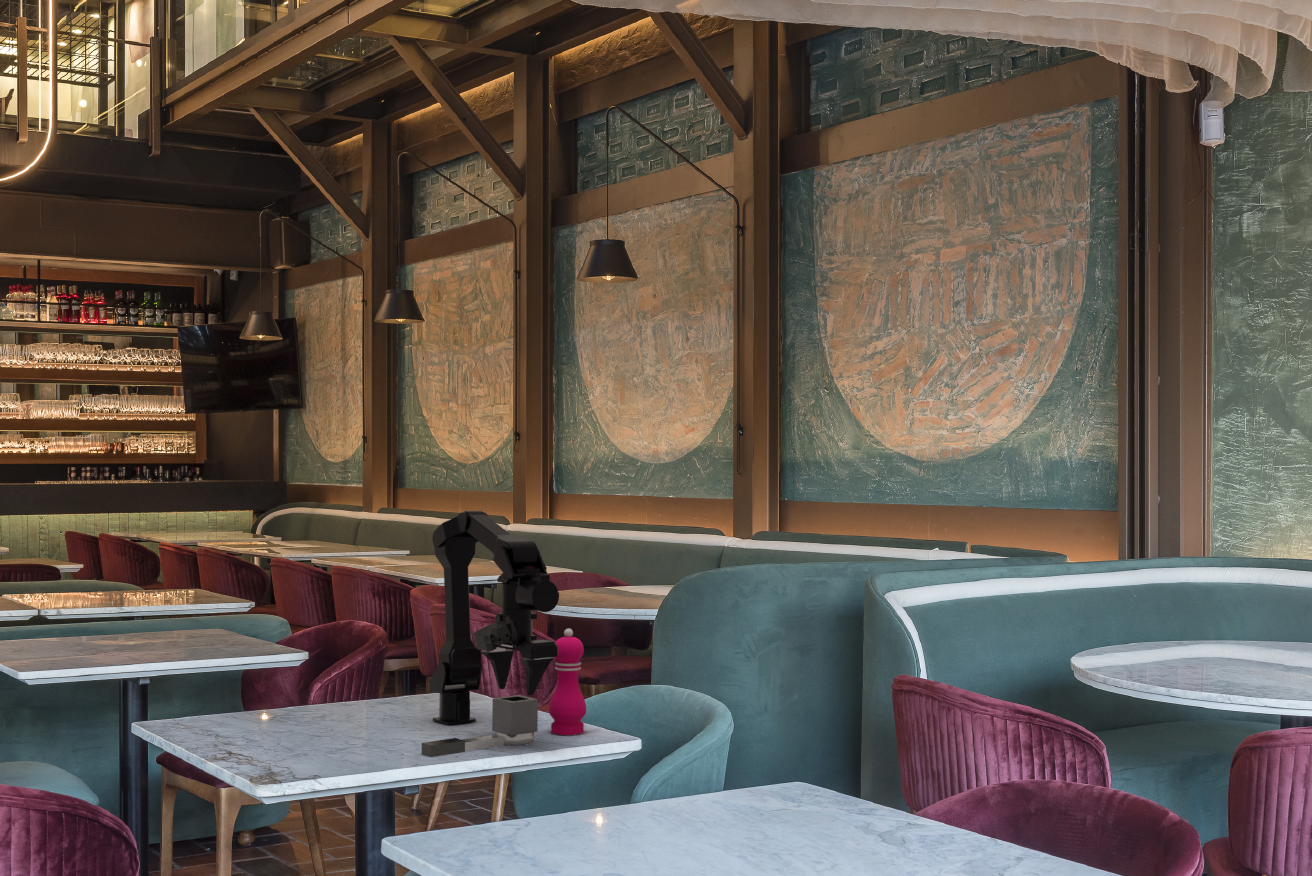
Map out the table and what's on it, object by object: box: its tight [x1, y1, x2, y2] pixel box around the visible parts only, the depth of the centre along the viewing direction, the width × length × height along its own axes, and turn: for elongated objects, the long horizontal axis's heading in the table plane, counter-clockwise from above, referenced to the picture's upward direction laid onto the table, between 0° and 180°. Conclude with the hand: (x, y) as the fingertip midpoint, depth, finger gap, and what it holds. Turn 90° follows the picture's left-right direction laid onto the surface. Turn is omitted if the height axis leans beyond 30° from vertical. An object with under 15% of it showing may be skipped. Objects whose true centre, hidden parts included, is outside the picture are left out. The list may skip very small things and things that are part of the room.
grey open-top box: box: [491, 694, 539, 736], centre depth 237 cm, size 6×6×6 cm
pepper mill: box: [548, 628, 587, 736], centre depth 246 cm, size 7×7×20 cm
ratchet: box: [420, 732, 535, 758], centre depth 232 cm, size 7×22×5 cm, turn 131°
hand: (516, 692), depth 237 cm, fingers open, 9 cm apart
